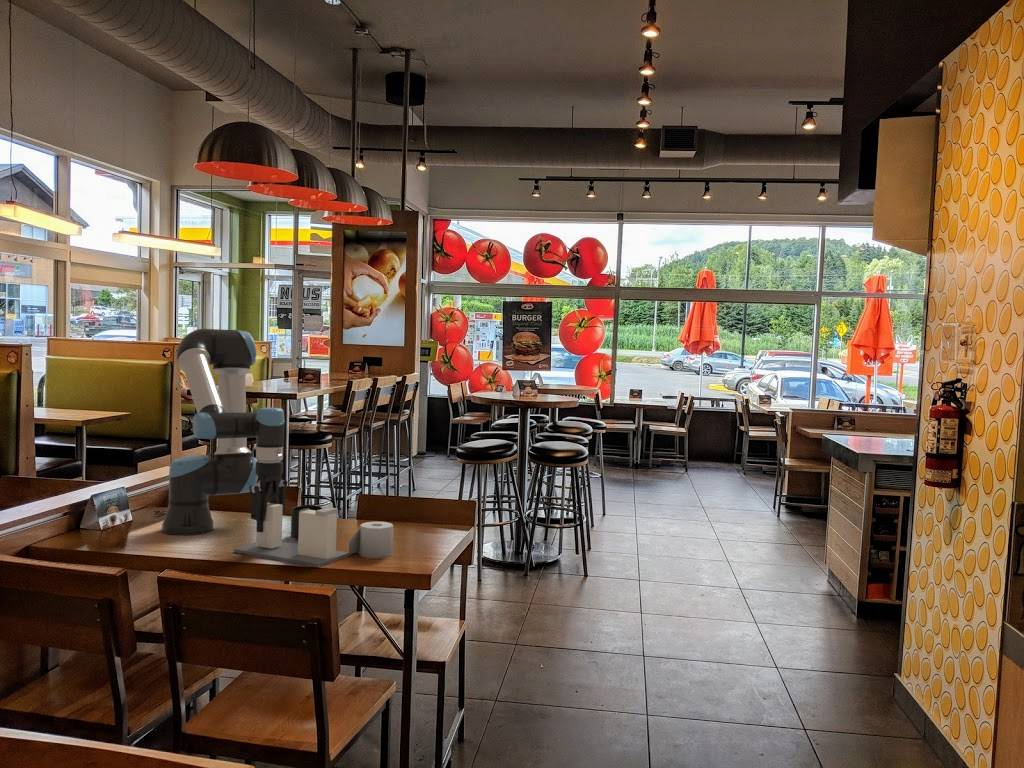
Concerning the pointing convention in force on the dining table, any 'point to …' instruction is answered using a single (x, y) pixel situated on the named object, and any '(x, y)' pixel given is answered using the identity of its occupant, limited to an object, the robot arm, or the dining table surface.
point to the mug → (296, 519)
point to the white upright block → (272, 526)
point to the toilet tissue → (373, 540)
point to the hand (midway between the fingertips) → (267, 541)
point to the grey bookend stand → (306, 541)
